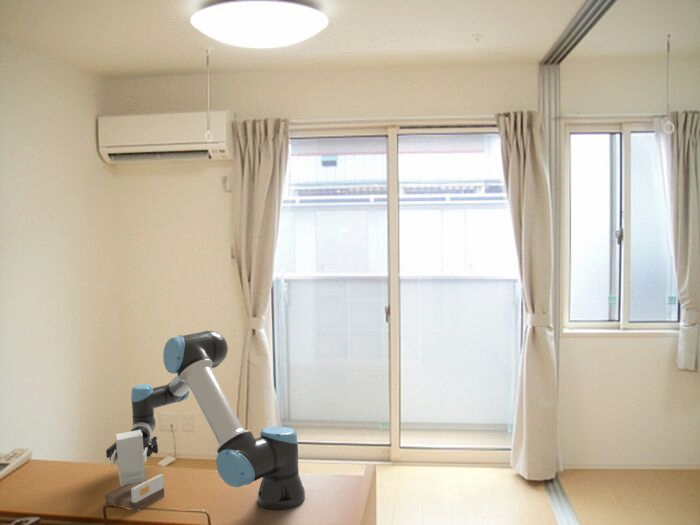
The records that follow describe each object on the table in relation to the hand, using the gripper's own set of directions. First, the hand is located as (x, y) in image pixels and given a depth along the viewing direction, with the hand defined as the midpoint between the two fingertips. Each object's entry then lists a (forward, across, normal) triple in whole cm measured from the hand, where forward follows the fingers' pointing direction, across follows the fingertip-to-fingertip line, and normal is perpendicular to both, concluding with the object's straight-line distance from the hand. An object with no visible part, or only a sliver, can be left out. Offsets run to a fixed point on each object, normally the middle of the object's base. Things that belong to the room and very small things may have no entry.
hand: (128, 460), depth 188 cm
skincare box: (-5, 0, -9) cm, 10 cm away
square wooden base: (-4, -1, -15) cm, 15 cm away
